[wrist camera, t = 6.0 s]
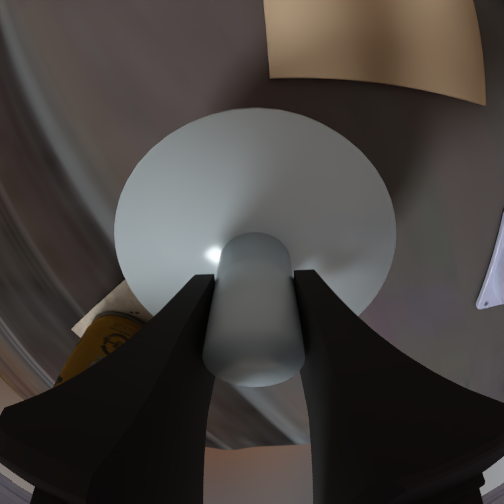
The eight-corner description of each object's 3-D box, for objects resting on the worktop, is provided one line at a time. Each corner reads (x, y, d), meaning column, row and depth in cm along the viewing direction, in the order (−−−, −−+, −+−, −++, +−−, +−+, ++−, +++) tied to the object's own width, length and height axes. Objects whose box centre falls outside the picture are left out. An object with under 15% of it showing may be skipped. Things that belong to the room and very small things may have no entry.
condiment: (72, 327, 19) (3, 454, 8) (130, 273, 16) (32, 457, 5) (140, 383, 21) (103, 509, 11) (212, 347, 19) (186, 524, 8)
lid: (410, 124, 8) (511, 172, 4) (355, 338, 13) (378, 424, 9) (103, 119, 8) (1, 164, 4) (151, 335, 13) (125, 420, 9)
